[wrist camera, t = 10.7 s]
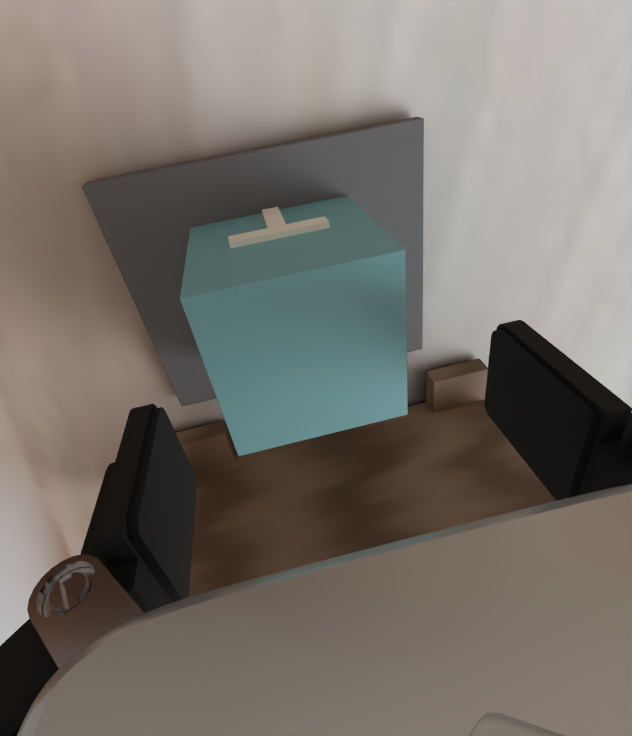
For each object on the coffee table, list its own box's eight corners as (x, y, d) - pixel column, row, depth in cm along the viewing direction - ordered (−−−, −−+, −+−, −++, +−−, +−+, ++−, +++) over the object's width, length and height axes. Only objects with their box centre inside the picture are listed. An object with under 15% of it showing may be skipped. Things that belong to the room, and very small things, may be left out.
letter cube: (347, 190, 16) (405, 242, 11) (359, 329, 20) (407, 414, 15) (188, 222, 15) (177, 291, 11) (232, 358, 19) (238, 456, 14)
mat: (417, 116, 15) (423, 118, 15) (417, 342, 21) (422, 348, 21) (86, 182, 15) (82, 186, 14) (182, 398, 21) (181, 406, 20)
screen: (479, 358, 23) (582, 470, 16) (470, 435, 26) (553, 552, 20) (166, 434, 22) (146, 588, 15) (202, 504, 25) (198, 653, 19)
